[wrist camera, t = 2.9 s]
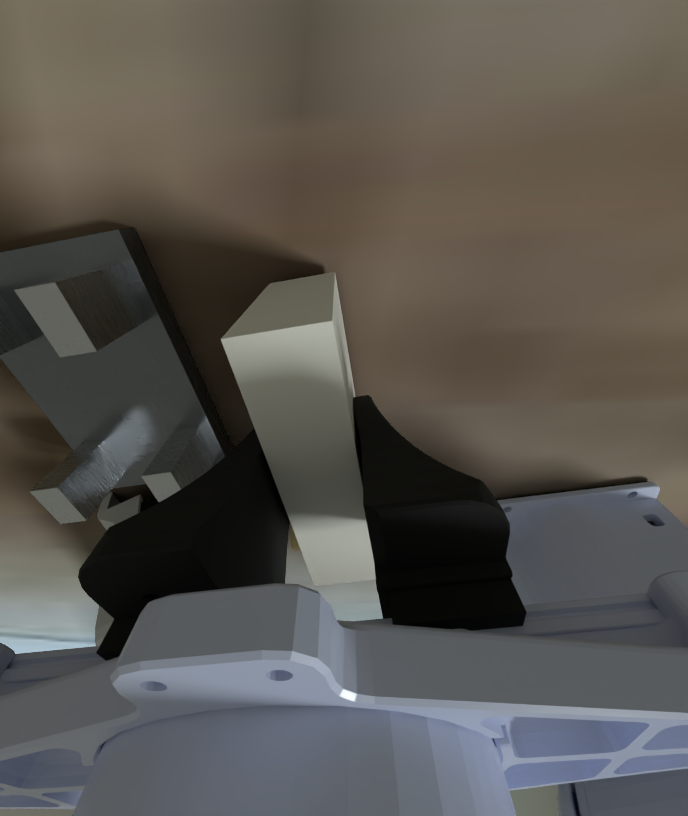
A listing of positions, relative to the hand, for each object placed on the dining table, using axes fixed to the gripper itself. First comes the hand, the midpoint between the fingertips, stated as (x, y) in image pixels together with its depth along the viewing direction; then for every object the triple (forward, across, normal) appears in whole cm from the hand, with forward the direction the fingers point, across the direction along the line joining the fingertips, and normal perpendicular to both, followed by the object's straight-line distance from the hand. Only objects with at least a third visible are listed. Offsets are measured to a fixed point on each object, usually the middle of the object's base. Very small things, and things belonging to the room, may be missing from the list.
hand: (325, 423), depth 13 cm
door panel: (+2, 0, 0) cm, 2 cm away
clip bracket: (+3, +9, -2) cm, 10 cm away
